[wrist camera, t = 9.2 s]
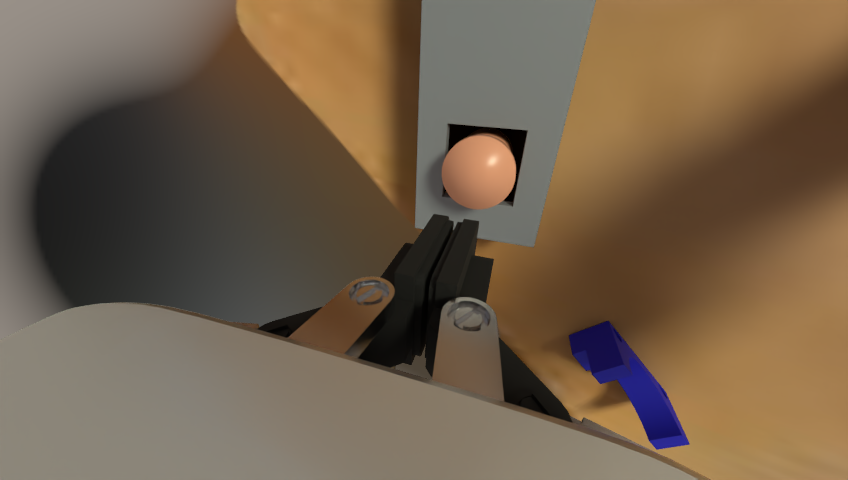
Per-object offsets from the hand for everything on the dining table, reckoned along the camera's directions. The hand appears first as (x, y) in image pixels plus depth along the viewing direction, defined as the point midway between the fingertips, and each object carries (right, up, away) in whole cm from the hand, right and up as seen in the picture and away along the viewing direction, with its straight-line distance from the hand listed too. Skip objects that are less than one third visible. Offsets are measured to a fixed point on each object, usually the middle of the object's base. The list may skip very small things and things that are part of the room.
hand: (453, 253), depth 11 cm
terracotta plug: (+4, +8, +14) cm, 17 cm away
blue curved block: (+21, -13, +24) cm, 34 cm away
